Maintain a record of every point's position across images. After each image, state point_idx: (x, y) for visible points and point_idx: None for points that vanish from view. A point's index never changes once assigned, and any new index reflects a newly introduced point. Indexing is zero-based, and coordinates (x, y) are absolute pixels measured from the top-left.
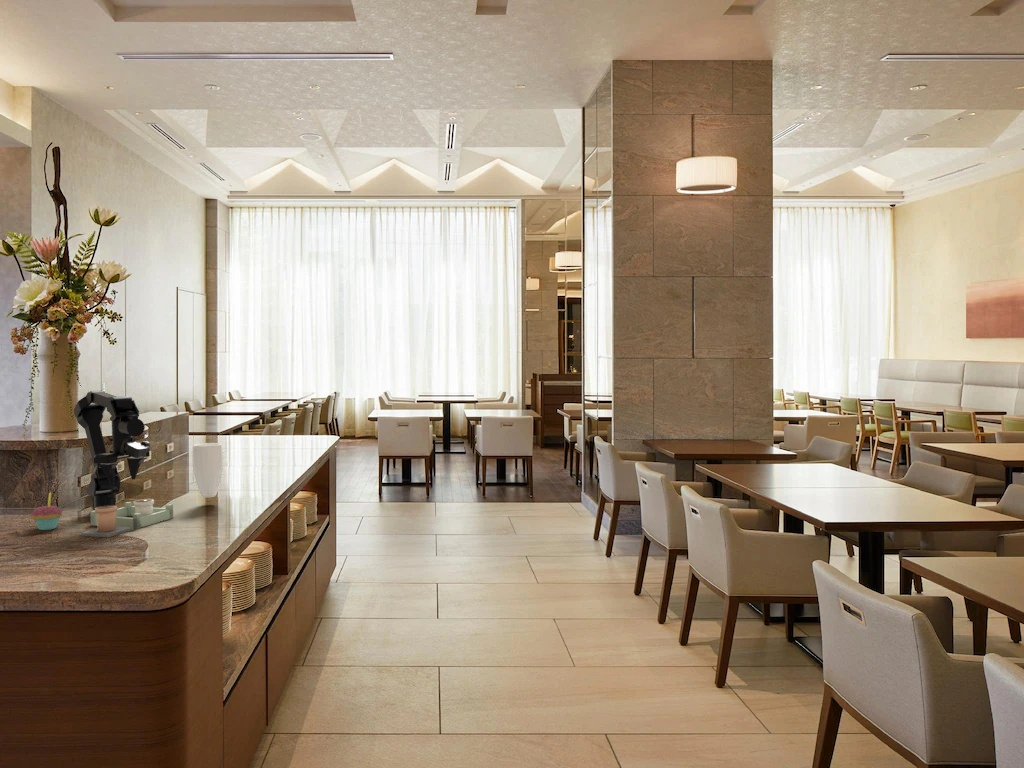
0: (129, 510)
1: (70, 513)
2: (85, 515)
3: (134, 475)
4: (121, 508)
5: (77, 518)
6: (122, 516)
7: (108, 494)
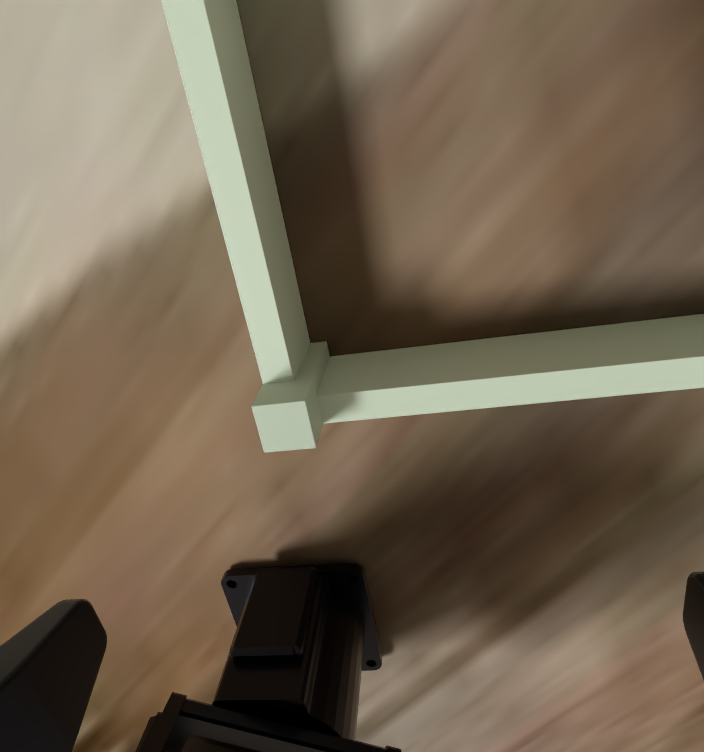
0: (308, 363)
1: (432, 734)
2: (444, 633)
3: (33, 668)
4: (393, 390)
5: (543, 612)
6: (389, 352)
7: (276, 707)
